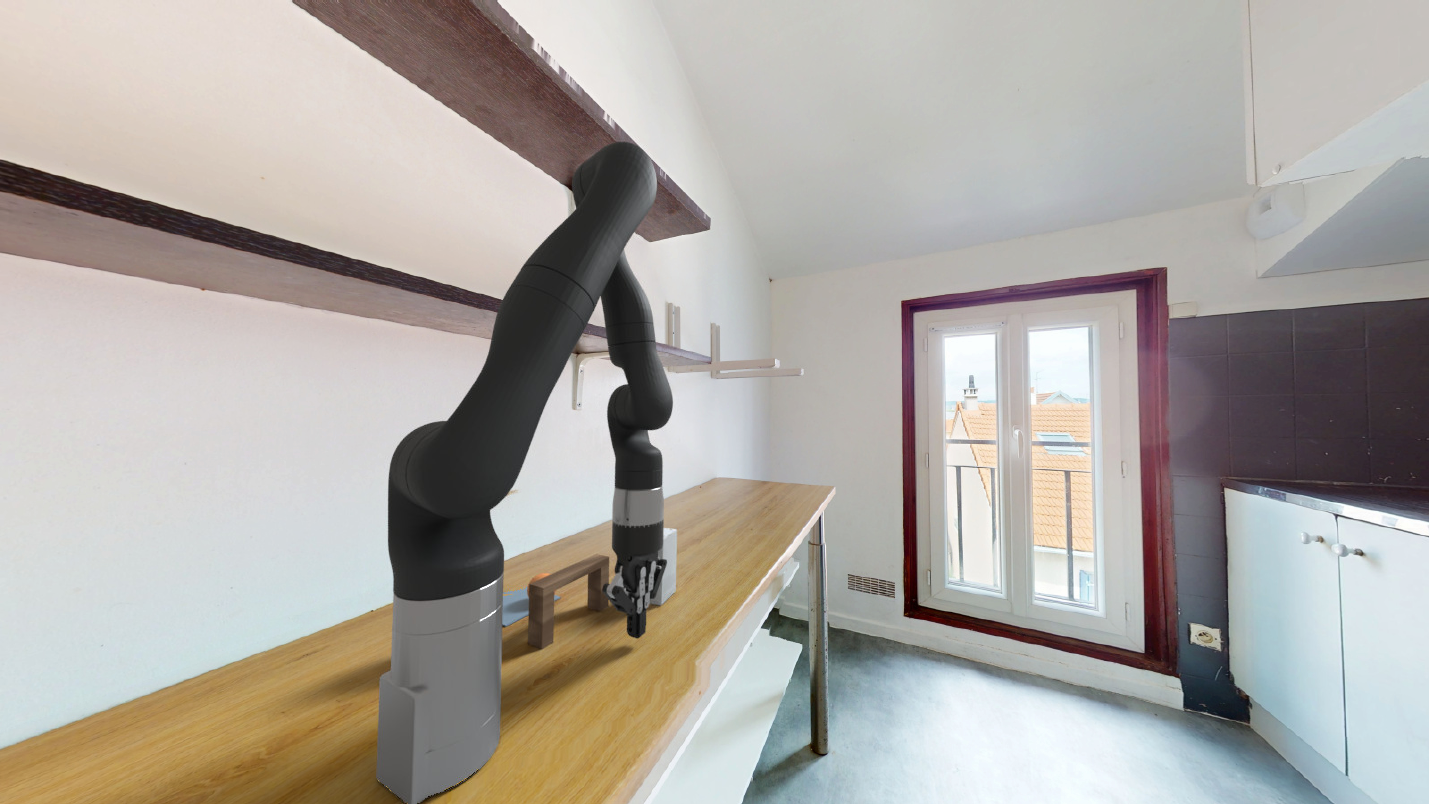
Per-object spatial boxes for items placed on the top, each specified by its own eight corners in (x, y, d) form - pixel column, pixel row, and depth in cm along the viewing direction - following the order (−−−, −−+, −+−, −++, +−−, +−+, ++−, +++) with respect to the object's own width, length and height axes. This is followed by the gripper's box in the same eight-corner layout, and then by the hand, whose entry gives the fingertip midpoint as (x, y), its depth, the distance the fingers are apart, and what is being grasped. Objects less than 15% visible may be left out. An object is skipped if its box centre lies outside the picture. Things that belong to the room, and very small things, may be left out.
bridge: (608, 606, 69) (609, 556, 69) (542, 649, 56) (543, 588, 57) (595, 602, 70) (596, 553, 71) (527, 643, 58) (529, 584, 58)
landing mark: (505, 626, 62) (506, 625, 62) (463, 610, 67) (463, 609, 67) (560, 597, 72) (560, 596, 72) (520, 585, 77) (520, 584, 77)
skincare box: (656, 588, 76) (657, 526, 77) (677, 592, 75) (678, 528, 75) (640, 603, 70) (641, 535, 71) (662, 607, 69) (663, 538, 69)
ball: (518, 588, 71) (530, 614, 69) (527, 575, 68) (539, 600, 66) (544, 576, 75) (556, 600, 73) (553, 563, 72) (565, 587, 70)
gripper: (630, 532, 51) (628, 668, 50) (682, 509, 62) (681, 620, 62) (586, 524, 54) (584, 652, 53) (644, 504, 66) (643, 609, 65)
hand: (636, 634), depth 58 cm, fingers closed
